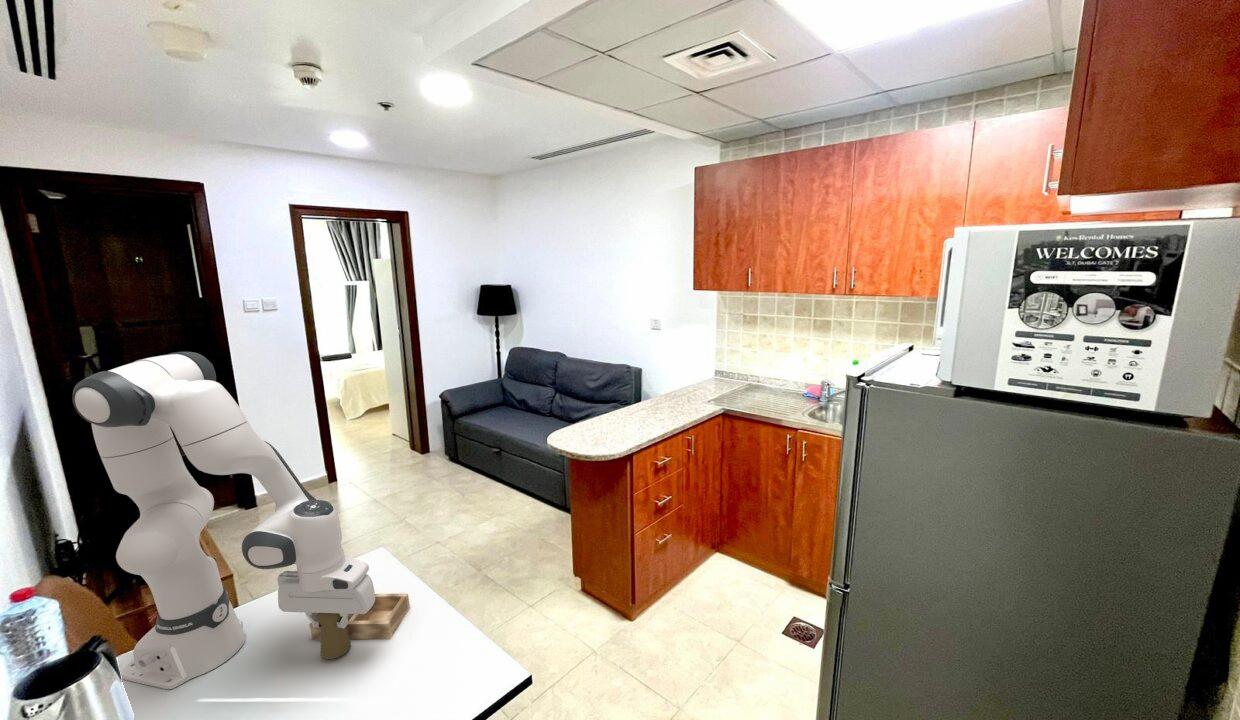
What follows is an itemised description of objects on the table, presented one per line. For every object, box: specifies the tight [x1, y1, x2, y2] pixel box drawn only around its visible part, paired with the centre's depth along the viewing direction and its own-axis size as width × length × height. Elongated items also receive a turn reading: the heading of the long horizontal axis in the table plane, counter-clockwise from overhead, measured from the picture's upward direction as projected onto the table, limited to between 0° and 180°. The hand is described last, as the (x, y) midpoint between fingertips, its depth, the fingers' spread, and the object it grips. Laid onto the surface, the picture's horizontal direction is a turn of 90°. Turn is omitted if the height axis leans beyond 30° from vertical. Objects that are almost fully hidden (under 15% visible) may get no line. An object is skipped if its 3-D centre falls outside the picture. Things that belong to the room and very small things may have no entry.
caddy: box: [308, 592, 411, 641], centre depth 117 cm, size 19×10×5 cm, turn 88°
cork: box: [317, 613, 352, 660], centre depth 107 cm, size 6×6×11 cm
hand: (330, 625), depth 107 cm, fingers closed on cork, 4 cm apart
